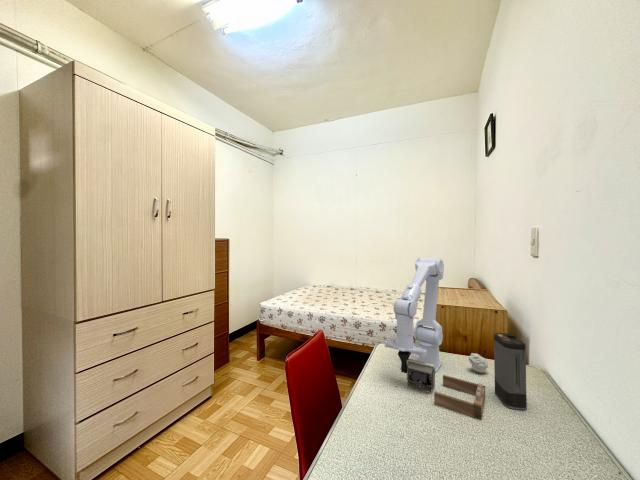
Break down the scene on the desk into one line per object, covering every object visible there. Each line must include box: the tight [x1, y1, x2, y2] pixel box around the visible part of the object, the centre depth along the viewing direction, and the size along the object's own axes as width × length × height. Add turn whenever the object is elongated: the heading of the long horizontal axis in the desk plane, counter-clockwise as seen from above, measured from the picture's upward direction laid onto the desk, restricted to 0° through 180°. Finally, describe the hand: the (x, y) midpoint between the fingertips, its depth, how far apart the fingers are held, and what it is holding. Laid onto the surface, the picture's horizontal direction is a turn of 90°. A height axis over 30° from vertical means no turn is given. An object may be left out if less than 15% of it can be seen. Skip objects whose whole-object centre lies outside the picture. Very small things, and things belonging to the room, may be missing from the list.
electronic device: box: [493, 332, 528, 411], centre depth 83 cm, size 9×6×20 cm, turn 168°
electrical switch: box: [406, 358, 436, 393], centre depth 90 cm, size 9×5×9 cm, turn 62°
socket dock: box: [433, 374, 486, 421], centre depth 83 cm, size 14×12×6 cm
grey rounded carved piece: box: [467, 352, 489, 374], centre depth 102 cm, size 6×7×7 cm
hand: (404, 371), depth 93 cm, fingers closed
